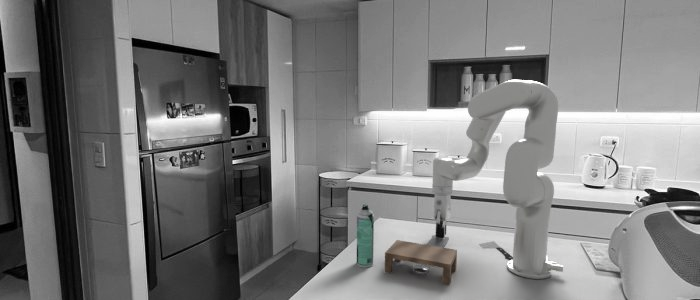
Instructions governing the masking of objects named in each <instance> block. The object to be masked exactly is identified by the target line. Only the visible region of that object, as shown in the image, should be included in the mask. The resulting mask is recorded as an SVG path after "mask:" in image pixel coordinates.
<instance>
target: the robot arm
mask: <svg viewBox="0 0 700 300" xmlns="http://www.w3.org/2000/svg"><path fill="white" fill-rule="evenodd" d="M516 109H526V110H528V113H527V117H526V120H525V123H524V134H523V137H522V138H523V139H519V140H517V141H514V142H513V143H512V144H511V145H510V146H509V148H508V149H507V152H506V153H505V154H506V155H505V159H504V172H503V182H502V187H503V188H502V189H503V190H502V192H503V195H504V196H503V197H504V199H505V200H506V202H507V203H508V204H509V205H510V206H511V207H514V208H515V209H516V211H515V217H514V218H515V219H514V235H513V236H514V237H513V249H512V251H513V252H512V257H513V260H508V261H507V263H506V264H507V265H506V267H507V269H508V271H510V272H512V273H513V274H514V275H517V276H519V277H522V278H527V279H533V280H534V279H535V280H542V279H547V278H549V277H551V275H552V271H556V272H561V273H563V272H564V265H561V264H559V263H558V262H557V261H556V262H555V261H550V260H548V255H547V254H548V240H549V227H550V215H551V209H552V204H553V201H554V196H555V186H554V183H553V181H552V178H550V177H549V176H548V175H546V174H545V173H542V172H539V170H542V169H544V168H546V167H549V166H550V165H551V163H552V162H553V159H554V154H555V145H556V137H557V136H556V134H557V133H556V132H557V123H558V122H557V121H558V116H559V115H558V114H559V101H558V98H557V95H556V92H554V91H553V89H551V88H550V87H549V86H547V85H546V84H544V83H541V82H538V81H534V80H524V79H523V80H522V79H511V80H508V81H503V82H502V83H499V84H497V85H495V86H492V87H490V88H487V89H485V90H483V91H480V92H479V93H477V94H475V95H473V96H472V97H471V99H470V100H469V102H468V104H467V112H468V115H469V116H470V117H471V118H472V119H471V121H470V122H469V125H468V126H467V128H466V130H465V131H466V132H465V133H466V134H465V135H466V137H467V138H468V139H470V141H471V143H472V145H471V147H470V150H469V151H468V153H467V155H466V157H464V158H460V159H459V158H458V159H452V158H451V157H447V156H438V157H435V158H434V159H433V161H432V188H431V189H432V192H431V193H432V194H433V195H434V197H433V198H434V199H433V219H434V220H435V235H436V237H440V238H444V220H445V221H446V223H445V236H446V235H447V221H448V220H449V218H450V217H451V214H452V213H451V212H452V210H451V209H452V208H451V207H452V206H451V205H452V200H451V196H452V195H453V188H454V187H453V186H454V185H453V183H454V182H459V181H463V180H467V179H473V178H474V177H476V176H478V174H479V173H480V172H481V171H482V169H483V168H484V165H486V162H487V160H488V157H489V154H490V141H491V139H492V137H493V136H494V134H495V132H496V130H497V129H498V127H499V125H500V123H501V122H502V120H503V118H504V115H505V114H506V113H507V112H508V111H510V110H516ZM442 219H443V220H442ZM440 221H441V222H440Z"/></svg>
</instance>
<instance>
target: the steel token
mask: <svg viewBox="0 0 700 300" xmlns="http://www.w3.org/2000/svg"><path fill="white" fill-rule="evenodd" d="M412 272H413V273H414V274H417V275H423V276H424V275H427V274H429V273H430V268H429V266H428V265H424V264H416V265H414V266H412Z"/></svg>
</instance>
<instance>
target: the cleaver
mask: <svg viewBox="0 0 700 300" xmlns="http://www.w3.org/2000/svg"><path fill="white" fill-rule="evenodd" d="M478 246H479V247H480V248H482V249H496V250H497V251H499V252H500V253H501V254H502V255H503V256H504V259H506V260H507V261H510V260H513V255H511V254H510V253H509V252H507V251H506V250H504V248H502V247H501V246H500V245H498V243H497V242H496V241H494V240H493V241H487V242H484V243H478Z"/></svg>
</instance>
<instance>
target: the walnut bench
mask: <svg viewBox="0 0 700 300" xmlns="http://www.w3.org/2000/svg"><path fill="white" fill-rule="evenodd" d="M457 256H458V249H454V248H448V247H444V248H443V247H437V246H431V245H427V244H423V243H417V242H412V241H406V240H399V239H397V240H395V242H393V243H392V244H391V246H390V247H389V248H388V249H387V250H386V251H385V252H384V273H386V274H389V275H390V274H392V273H393V271H394V261H396V262H402V261H403V262H409V263H415V264H418V265H424V266H428V267H430V266H431V267H435V268H441V269H442V285H444V286H450V285H451V281H452V272H456V271H457V262H458V261H457V259H458V257H457Z"/></svg>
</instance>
